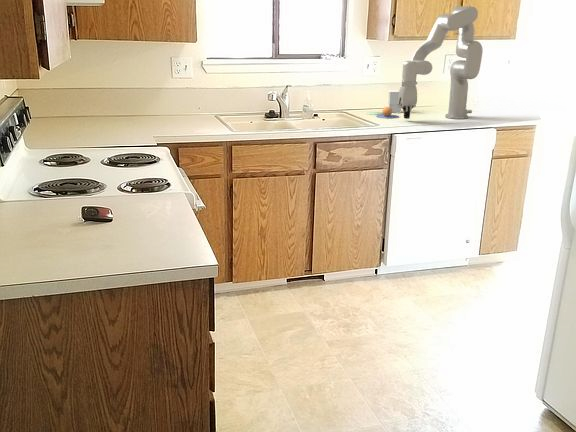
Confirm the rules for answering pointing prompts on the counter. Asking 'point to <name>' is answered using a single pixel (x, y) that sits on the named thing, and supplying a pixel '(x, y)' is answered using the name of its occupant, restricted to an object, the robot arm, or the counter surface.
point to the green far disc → (375, 113)
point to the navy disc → (387, 116)
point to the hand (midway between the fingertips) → (406, 118)
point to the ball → (387, 111)
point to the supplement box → (394, 101)
